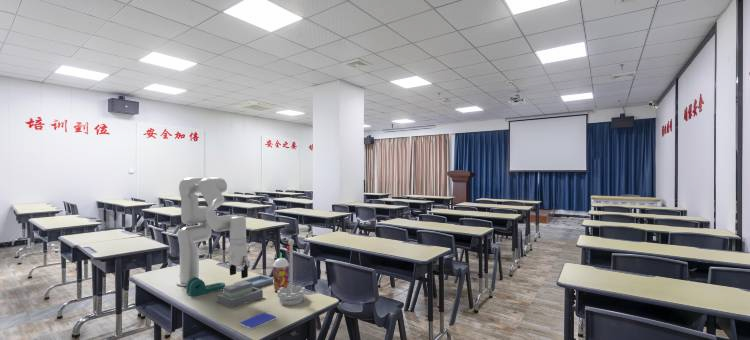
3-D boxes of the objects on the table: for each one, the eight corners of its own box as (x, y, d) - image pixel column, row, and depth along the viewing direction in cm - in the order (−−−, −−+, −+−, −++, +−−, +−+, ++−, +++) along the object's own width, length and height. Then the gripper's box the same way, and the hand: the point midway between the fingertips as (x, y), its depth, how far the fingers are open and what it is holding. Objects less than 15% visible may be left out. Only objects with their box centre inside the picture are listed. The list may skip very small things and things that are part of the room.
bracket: (190, 297, 176) (190, 281, 176) (186, 293, 181) (186, 278, 181) (227, 288, 188) (227, 274, 188) (222, 285, 193) (222, 271, 193)
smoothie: (271, 289, 187) (271, 251, 187) (287, 287, 191) (287, 250, 190) (273, 294, 180) (273, 255, 179) (290, 292, 183) (290, 253, 183)
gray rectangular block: (223, 301, 170) (223, 287, 170) (245, 294, 180) (245, 280, 180) (230, 304, 167) (230, 289, 167) (252, 296, 177) (252, 282, 177)
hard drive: (264, 311, 155) (239, 322, 145) (276, 316, 151) (251, 327, 141) (264, 315, 155) (239, 325, 145) (276, 319, 151) (251, 331, 141)
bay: (216, 301, 169) (216, 294, 169) (247, 291, 183) (247, 285, 183) (231, 308, 162) (231, 300, 162) (262, 297, 176) (262, 290, 176)
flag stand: (310, 300, 171) (310, 239, 171) (286, 308, 162) (286, 243, 162) (295, 293, 181) (295, 235, 180) (272, 300, 172) (272, 239, 171)
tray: (234, 287, 190) (234, 282, 190) (261, 279, 204) (261, 274, 204) (246, 291, 184) (246, 286, 184) (273, 282, 197) (273, 278, 197)
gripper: (221, 240, 175) (221, 275, 175) (241, 244, 165) (242, 281, 165) (234, 238, 181) (235, 271, 181) (255, 241, 171) (255, 276, 171)
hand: (238, 276), depth 173 cm, fingers open, 9 cm apart
